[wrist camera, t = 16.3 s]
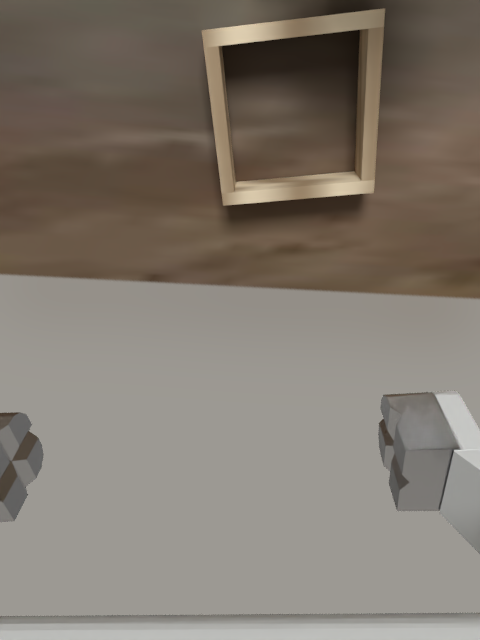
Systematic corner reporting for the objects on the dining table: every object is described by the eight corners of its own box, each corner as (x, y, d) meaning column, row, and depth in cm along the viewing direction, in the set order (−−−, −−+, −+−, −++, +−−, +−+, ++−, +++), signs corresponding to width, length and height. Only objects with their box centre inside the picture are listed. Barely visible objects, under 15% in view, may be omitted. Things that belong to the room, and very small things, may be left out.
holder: (225, 194, 39) (223, 205, 36) (206, 30, 32) (201, 30, 30) (366, 182, 38) (373, 192, 35) (375, 10, 31) (385, 8, 29)
